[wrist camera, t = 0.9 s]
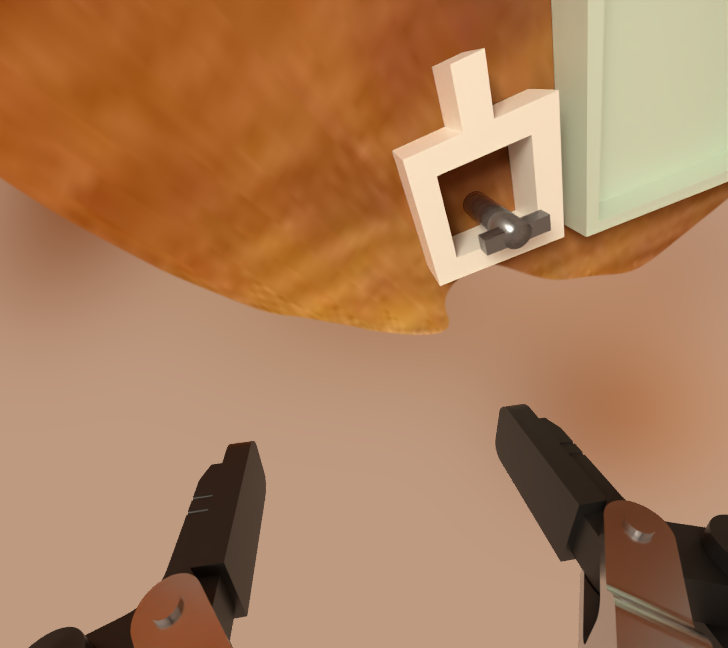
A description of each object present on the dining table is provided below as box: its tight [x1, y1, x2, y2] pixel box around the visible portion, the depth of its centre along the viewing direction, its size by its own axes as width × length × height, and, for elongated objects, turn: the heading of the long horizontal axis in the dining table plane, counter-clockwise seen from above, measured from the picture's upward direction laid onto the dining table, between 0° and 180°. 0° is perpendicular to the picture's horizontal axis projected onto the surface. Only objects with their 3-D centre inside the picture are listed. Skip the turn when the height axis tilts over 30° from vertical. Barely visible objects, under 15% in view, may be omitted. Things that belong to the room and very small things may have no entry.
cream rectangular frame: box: [392, 48, 564, 286], centre depth 27 cm, size 15×11×4 cm
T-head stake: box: [463, 191, 551, 256], centre depth 27 cm, size 2×5×8 cm, turn 112°
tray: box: [551, 0, 728, 237], centre depth 24 cm, size 20×16×4 cm
